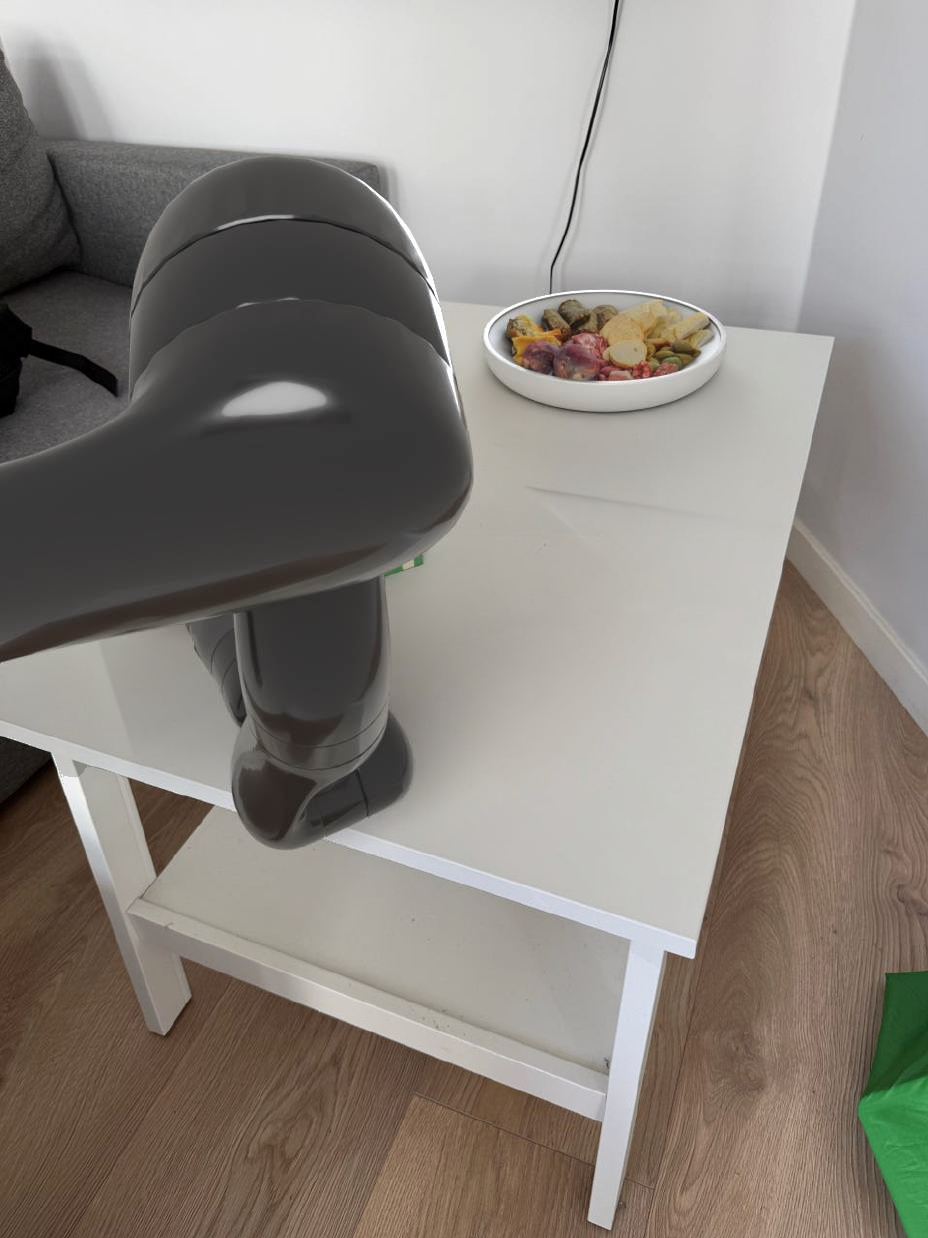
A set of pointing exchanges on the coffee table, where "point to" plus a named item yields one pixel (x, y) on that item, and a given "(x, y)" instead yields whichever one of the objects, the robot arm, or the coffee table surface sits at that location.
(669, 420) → the coffee table surface
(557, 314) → the bowl
